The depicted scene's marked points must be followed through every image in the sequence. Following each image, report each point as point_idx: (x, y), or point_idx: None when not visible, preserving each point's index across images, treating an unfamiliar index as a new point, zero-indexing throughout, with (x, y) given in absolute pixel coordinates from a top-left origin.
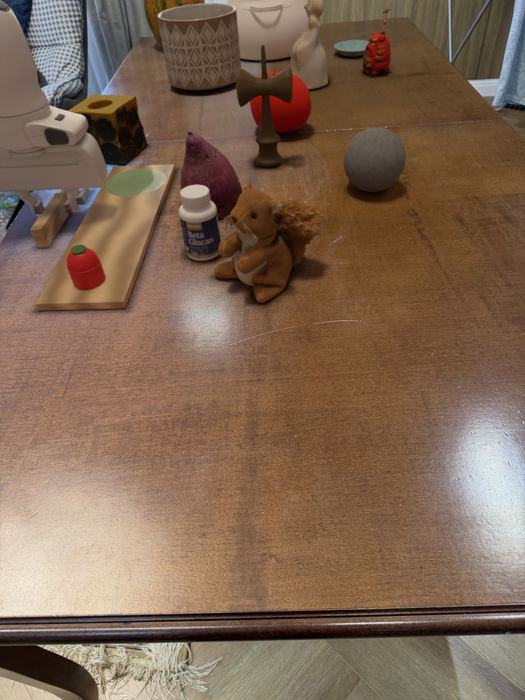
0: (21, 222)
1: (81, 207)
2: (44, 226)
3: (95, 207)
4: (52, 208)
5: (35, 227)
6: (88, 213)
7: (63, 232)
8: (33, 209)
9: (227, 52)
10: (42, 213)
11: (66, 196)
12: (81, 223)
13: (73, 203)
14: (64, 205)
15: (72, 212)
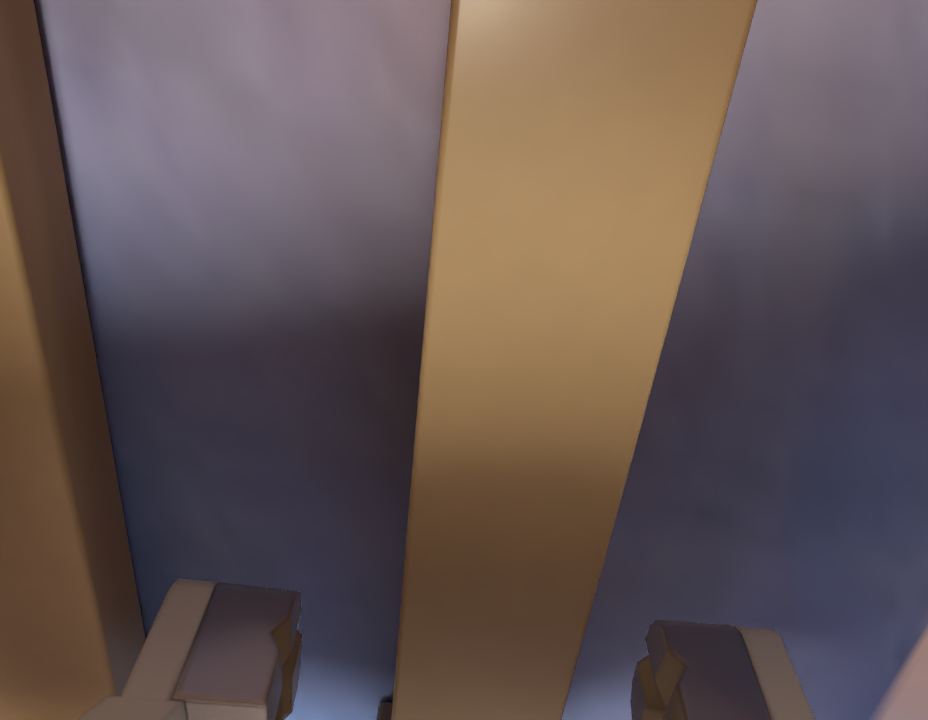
0: (920, 582)
1: (310, 716)
2: (447, 89)
3: (36, 665)
4: (441, 650)
5: (646, 15)
6: (63, 572)
7: (353, 301)
8: (767, 688)
9: None
10: (584, 547)
11: None
12: (34, 364)
13: (106, 705)
14: (267, 691)
15: (213, 585)
